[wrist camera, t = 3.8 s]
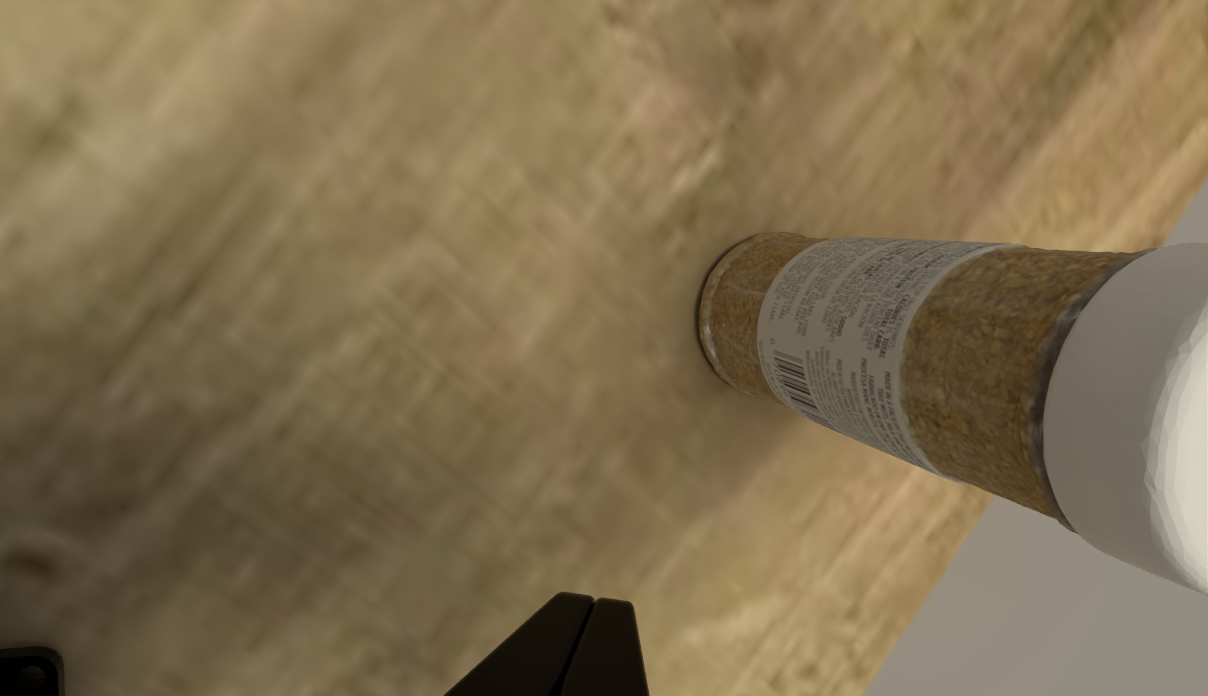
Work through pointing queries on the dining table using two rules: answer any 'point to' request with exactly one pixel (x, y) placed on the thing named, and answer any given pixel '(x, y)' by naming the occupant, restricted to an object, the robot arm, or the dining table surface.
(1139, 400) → the sprinkles bottle
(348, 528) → the dining table surface
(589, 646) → the robot arm
